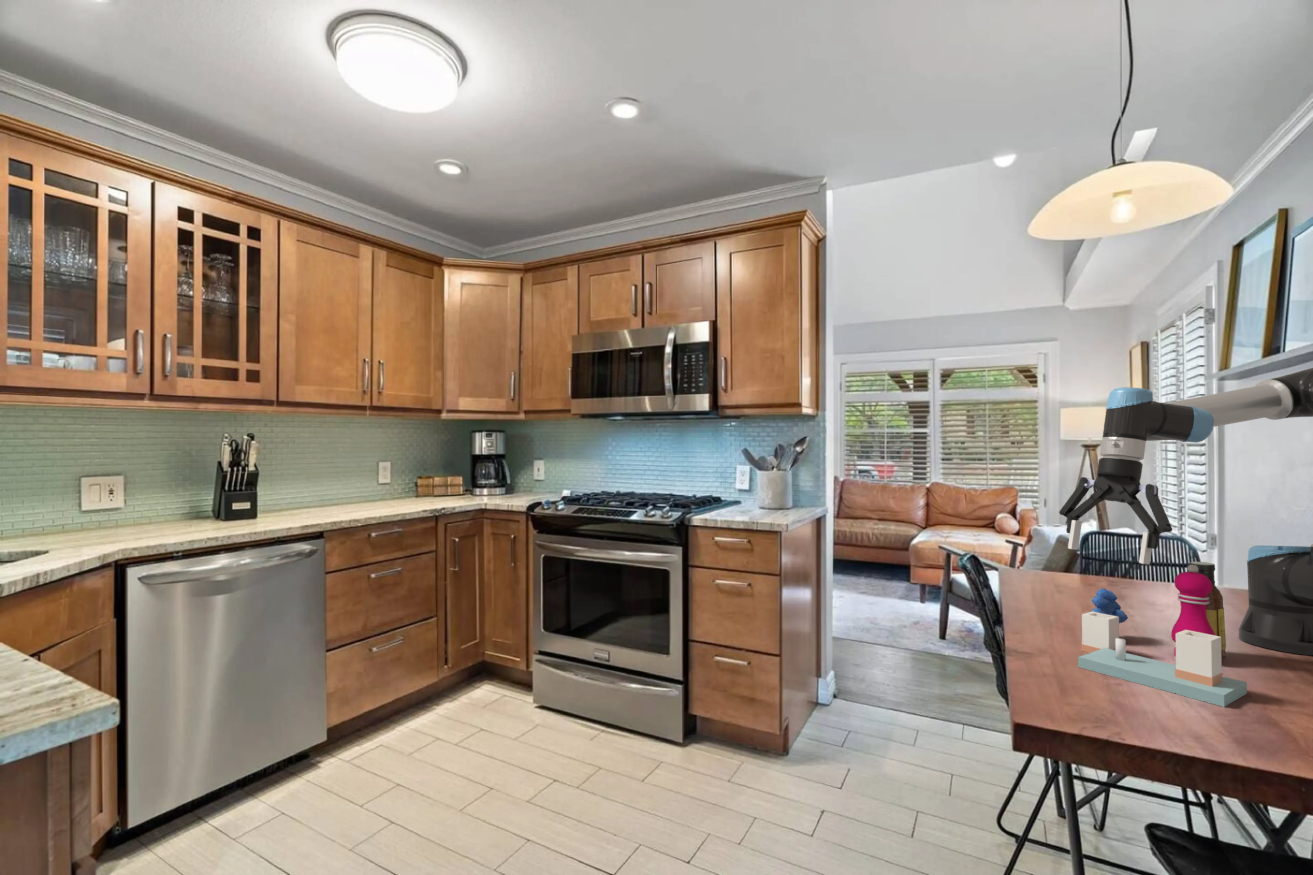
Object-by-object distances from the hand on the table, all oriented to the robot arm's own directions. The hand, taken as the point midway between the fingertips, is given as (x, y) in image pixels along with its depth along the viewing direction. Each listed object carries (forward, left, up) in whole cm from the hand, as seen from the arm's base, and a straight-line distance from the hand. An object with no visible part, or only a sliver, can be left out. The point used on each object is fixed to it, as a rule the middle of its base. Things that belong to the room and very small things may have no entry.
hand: (1106, 556), depth 128 cm
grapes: (-14, -5, -22) cm, 26 cm away
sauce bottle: (-21, +10, -22) cm, 32 cm away
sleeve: (-1, -2, -21) cm, 21 cm away
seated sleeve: (+8, +17, -19) cm, 27 cm away
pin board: (+8, +11, -21) cm, 25 cm away
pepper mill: (-14, +10, -22) cm, 28 cm away
